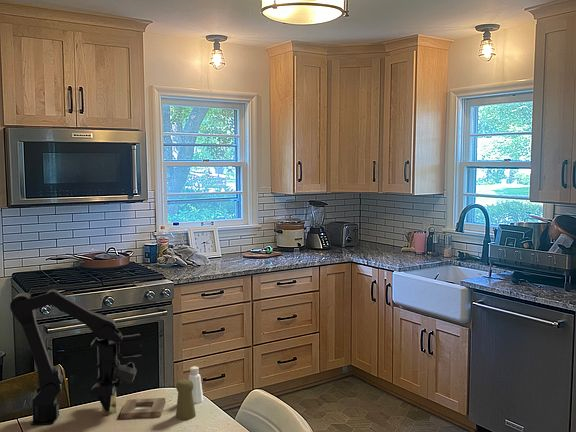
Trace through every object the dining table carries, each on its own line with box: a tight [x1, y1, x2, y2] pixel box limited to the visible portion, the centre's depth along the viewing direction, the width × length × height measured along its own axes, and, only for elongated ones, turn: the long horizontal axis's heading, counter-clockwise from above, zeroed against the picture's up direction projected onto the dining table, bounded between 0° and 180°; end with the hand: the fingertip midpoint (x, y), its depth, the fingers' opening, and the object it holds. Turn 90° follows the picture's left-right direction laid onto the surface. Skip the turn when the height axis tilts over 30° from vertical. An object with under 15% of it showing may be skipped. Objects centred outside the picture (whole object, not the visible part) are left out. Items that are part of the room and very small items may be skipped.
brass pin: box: [101, 390, 118, 416], centre depth 179 cm, size 4×4×6 cm
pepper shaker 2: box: [188, 365, 204, 405], centre depth 187 cm, size 5×5×11 cm
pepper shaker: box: [175, 378, 197, 421], centre depth 175 cm, size 6×6×11 cm
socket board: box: [120, 397, 166, 419], centre depth 180 cm, size 12×11×2 cm
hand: (109, 408), depth 179 cm, fingers closed on brass pin, 4 cm apart
